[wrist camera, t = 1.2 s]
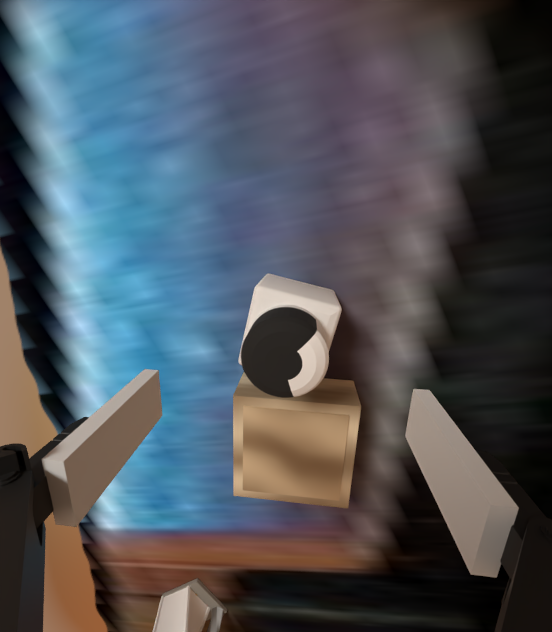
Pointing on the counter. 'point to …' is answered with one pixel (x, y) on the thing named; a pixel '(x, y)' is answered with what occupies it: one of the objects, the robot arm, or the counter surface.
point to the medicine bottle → (288, 336)
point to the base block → (296, 443)
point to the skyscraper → (189, 609)
